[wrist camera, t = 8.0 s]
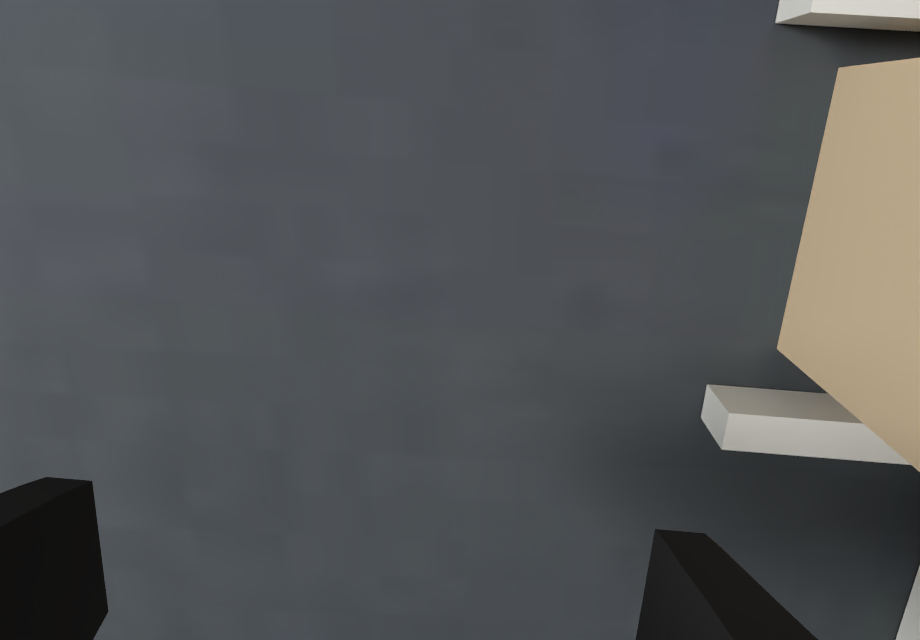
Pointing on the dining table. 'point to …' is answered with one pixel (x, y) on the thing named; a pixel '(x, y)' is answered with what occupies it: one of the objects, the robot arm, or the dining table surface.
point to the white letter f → (806, 413)
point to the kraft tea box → (864, 256)
